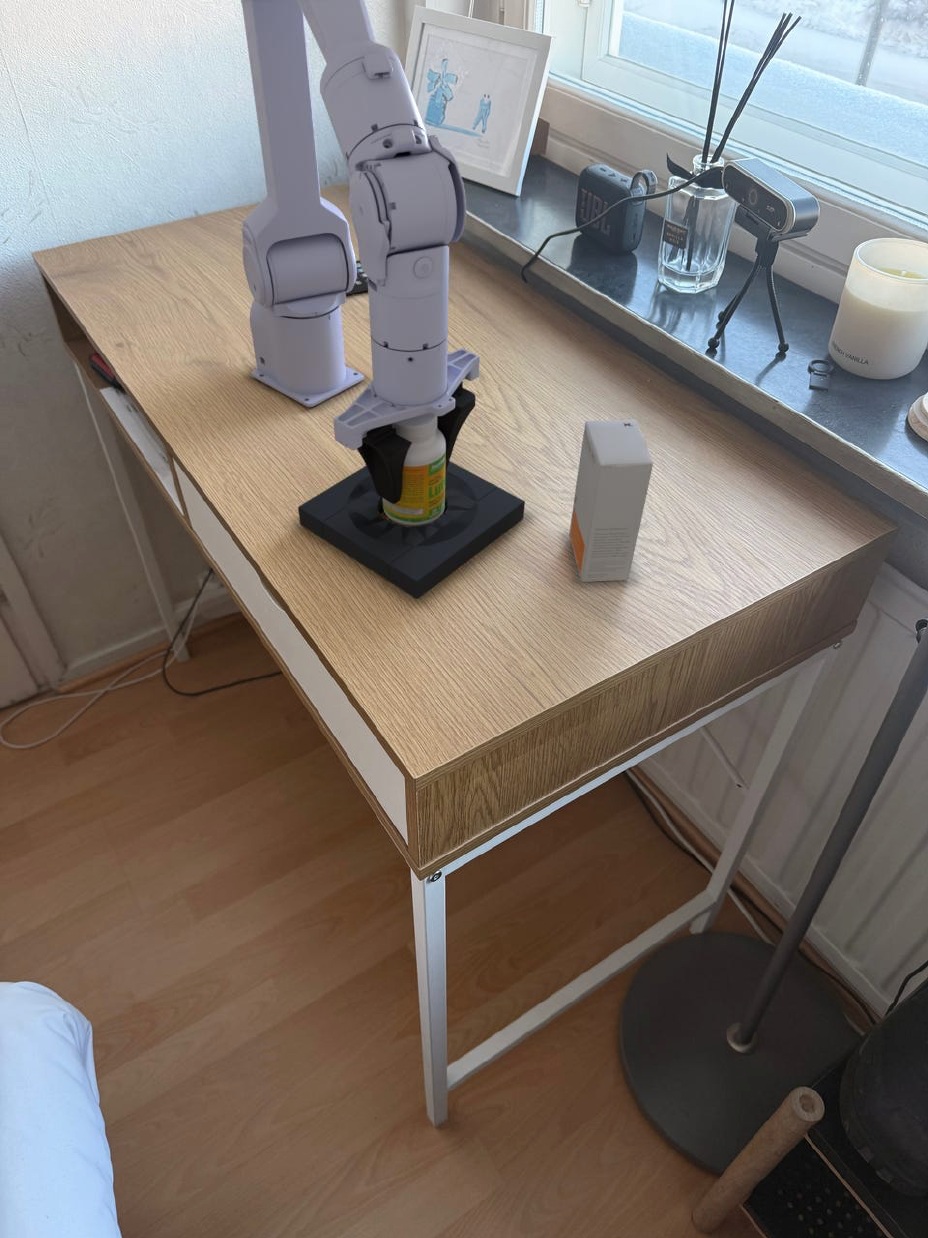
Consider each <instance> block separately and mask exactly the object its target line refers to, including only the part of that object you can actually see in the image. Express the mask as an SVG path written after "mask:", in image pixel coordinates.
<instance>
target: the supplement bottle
mask: <svg viewBox="0 0 928 1238" xmlns="http://www.w3.org/2000/svg"><path fill="white" fill-rule="evenodd" d="M392 428H396V434H397V435H399V436H401V437H403V438H405V439H407V440H408V441H410V442H412V444H411V446H410V448H409V450H408V452H407V455H406V458H405V462H404V467H403V474H402V494H401V498H400V501H398V502H397V503H395V504H392V503H390V502H389V501H387V500H385V499H384V498H383V509H384V510H383V512H384V514H385V516H386V517H387V518H388V519H389V520H390V521H391V522H392V523H394V524H398V525H402V526H406V527H412V526H423V525H427V524H430V523H433V522H435V521H436V520H438V519H439V518H441V517H442V516H443V515H444V513H443V511H444V508H445V468H446V443H445V438H444V436H443V434H442V433H441V431H440V430H439V429H437V416H436V415H434V414H432V413H427V414H424V415H420V416H417V417H413V418H410V419H406V420H402V421H399V422H395V423H392Z"/></svg>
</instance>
